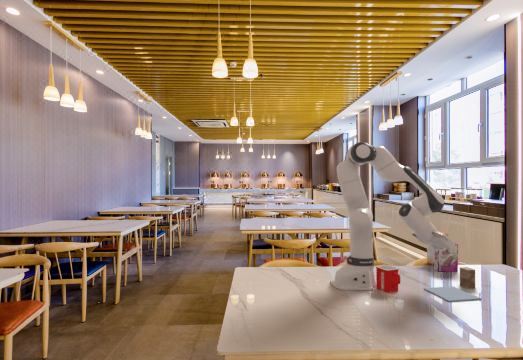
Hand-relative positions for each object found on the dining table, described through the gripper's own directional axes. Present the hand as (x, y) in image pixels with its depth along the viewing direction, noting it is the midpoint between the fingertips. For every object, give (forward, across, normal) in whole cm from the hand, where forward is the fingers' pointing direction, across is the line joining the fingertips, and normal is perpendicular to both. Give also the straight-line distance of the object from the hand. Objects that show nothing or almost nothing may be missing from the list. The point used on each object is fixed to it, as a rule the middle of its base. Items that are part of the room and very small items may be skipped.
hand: (444, 250), depth 152 cm
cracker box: (+32, +38, -6) cm, 50 cm away
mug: (-8, +2, +33) cm, 34 cm away
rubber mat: (+10, -8, +16) cm, 20 cm away
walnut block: (+22, 0, +5) cm, 22 cm away
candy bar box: (+29, +26, -3) cm, 39 cm away
